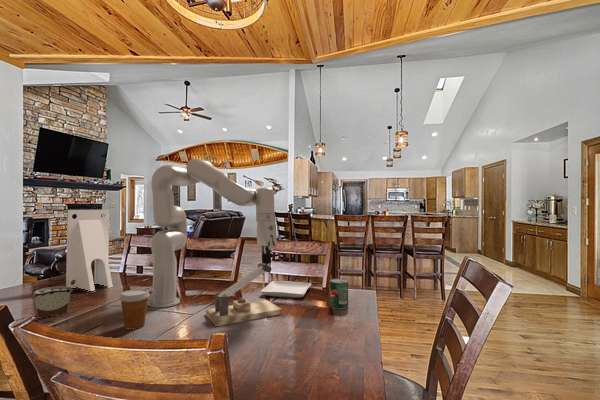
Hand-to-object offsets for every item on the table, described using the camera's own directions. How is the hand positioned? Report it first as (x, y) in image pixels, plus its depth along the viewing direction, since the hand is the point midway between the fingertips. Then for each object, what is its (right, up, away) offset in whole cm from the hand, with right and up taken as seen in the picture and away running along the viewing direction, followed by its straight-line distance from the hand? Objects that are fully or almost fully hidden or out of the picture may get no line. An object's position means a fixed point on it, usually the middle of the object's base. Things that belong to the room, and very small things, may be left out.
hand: (266, 262), depth 132 cm
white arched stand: (-92, -20, +34) cm, 100 cm away
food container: (-83, -19, -6) cm, 85 cm away
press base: (-8, -19, -5) cm, 22 cm away
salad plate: (+7, -21, +28) cm, 35 cm away
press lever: (-7, -7, -4) cm, 11 cm away
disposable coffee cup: (-45, -19, -18) cm, 52 cm away
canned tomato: (+30, -20, +6) cm, 37 cm away
